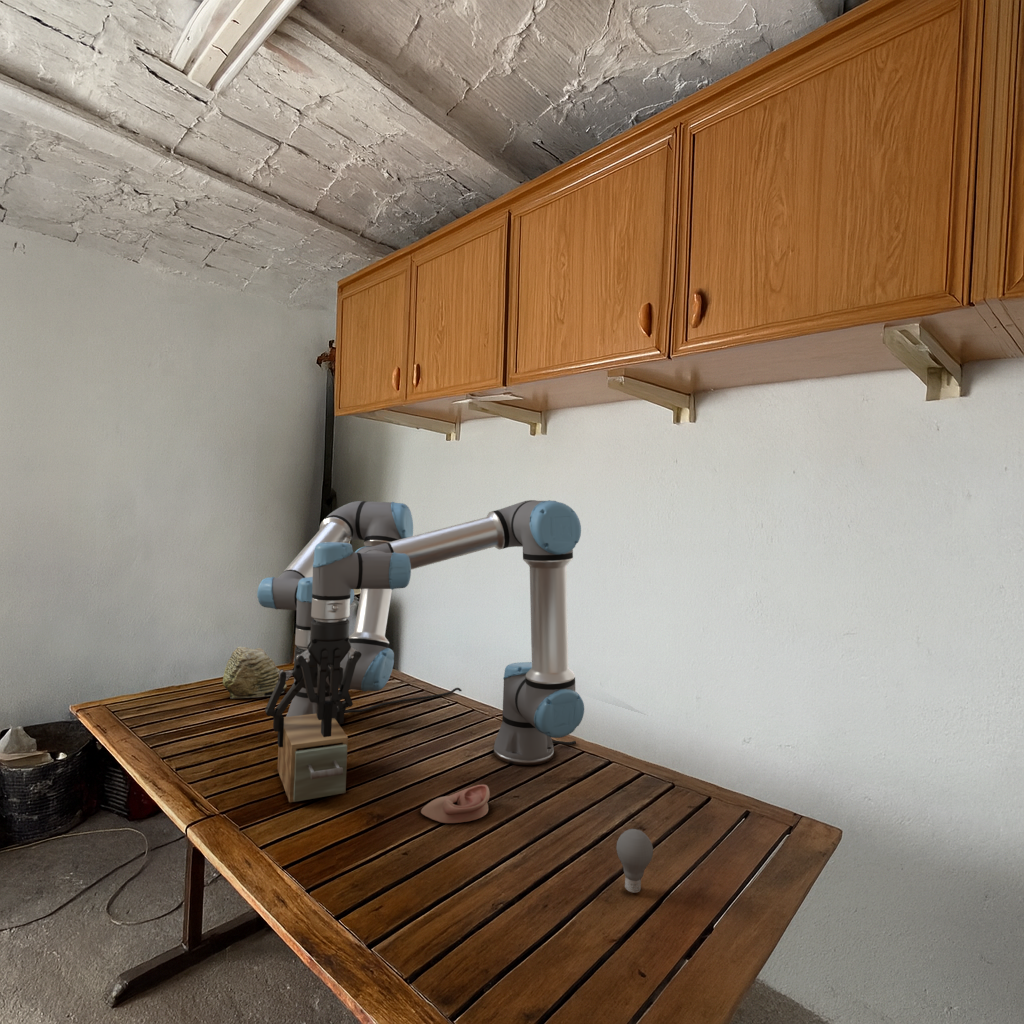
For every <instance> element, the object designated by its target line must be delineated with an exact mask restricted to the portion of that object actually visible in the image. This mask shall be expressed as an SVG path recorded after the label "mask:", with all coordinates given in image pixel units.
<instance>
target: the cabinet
mask: <svg viewBox="0 0 1024 1024" xmlns="http://www.w3.org/2000/svg"><path fill="white" fill-rule="evenodd" d="M316 715H317V714H308V715H300V716H291V717H286V716H283V717H284V729H283V747H279V746H277V747H278V748H277V772H278V775H279V778H280V780H281V784H282V786H283V789H284V791H285V792H284V793H285V795H286V796H287V800H288V803H290V804H291V803H295V802H294V773H295V751H296V750H297V749H300V748H307V747H314V746H321V745H329V744H336V743H340V745H343V744H346V745H347V746H348V745H349V737H348V735H347V734H346V732H345V731H344V729H343V728H342V727H341V724H340V725H339V724H338V722H337V721H336V719H335V718H332V728H331V736H329V737H323V735H322V734H321V720H318V718H317V716H316ZM347 769H348V764H347V765H346V771H348V770H347ZM346 792H347V789H346V790H345V793H344V794H346Z"/></svg>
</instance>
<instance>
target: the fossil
mask: <svg viewBox="0 0 1024 1024" xmlns="http://www.w3.org/2000/svg"><path fill="white" fill-rule="evenodd" d="M280 670H281V669H279V668H278V667H277V665H276V663H275V662H274V660H273V659H272V658H271V657H270V656H269V655H268V654H267V653H266V652H265V650H264V649H263V648H260V647H258V648H251V647H247V646H246V647H245V646H238V647H237V648H236V649H235V650H233V651H232V653H231V656H230V657H229V659H228V660H227V663H226V666H225V668H224V671H223V675H222V676H223V677H222V685H223V687H224V688H225V690H226V691H228V693H229V698H230V699H250V698H264V697H271V695H272V693H273V691H274V688H275V686H276V684H277V682H278V679H279V671H280ZM287 687H288V686H287V681H286V682H285V686H284V688H283V690H282V693H281V694H284V693H285V691H286V689H287Z"/></svg>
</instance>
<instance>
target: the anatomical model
mask: <svg viewBox="0 0 1024 1024" xmlns="http://www.w3.org/2000/svg"><path fill="white" fill-rule="evenodd" d="M490 795H491V792H490V788H489V786H488V785H487V784H477V785H473V786H470V787H468V788H464V789H462V790H460V791H457V792H455V793H452V794H450V795H445V796H440V797H437V798H435V799H433V800H431V801H430V802H428V803H426V804H425V805H424V806H423V807H422V808H421V809H420V813H421V814H422V815H423V816H425V817H426V818H428V819H430V820H433V821H435V822H439V823H441V824H458V823H459V824H460V823H467V822H471V821H476V820H478V819H482V818H483V817H485V816H486V815H487V814H488V813H489V804H488V802H489V800H490V797H491V796H490Z"/></svg>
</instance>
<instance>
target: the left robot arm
mask: <svg viewBox="0 0 1024 1024" xmlns="http://www.w3.org/2000/svg"><path fill="white" fill-rule="evenodd" d="M411 536H414V519H413V515H412V512H411V509H410V507H409V506H408V505H407V504H405V503H401V502H395V501H371V500H370V501H369V500H367V501H366V500H355V501H352V502H349V503H346V504H343V505H342V506H340V507H338V508H336V509H334V510H333V511H332V512H330V513H329V514H328V515H327V516H326V517H324V519H323V520H322V521H321V522H320V525H319V530H318V531H317V532H316V534H315V535H314V536H313V537H311V539H310V540H309V542H307V544H306V545H305V546H304V547H303V548H302V549H301V551H300V552H298V554H297V555H296V556H295V557H294V559H293V560H292V561H291V562H290V563H289V564H288V566H287V567H286V568H285V569H284V570H283V571H282V572H281V573H280V575H279V576H278V577H275V576H271V577H265V578H263V579H261V581H260V583H259V585H258V587H257V593H256V595H257V600H258V603H259V605H260V606H261V607H263V608H267V609H273V610H285V611H286V610H287V611H296V617H295V618H296V619H295V620H296V621H295V622H296V623H295V639H294V645H295V646H296V647H295V648H294V659H293V662H294V663H293V667H292V669H291V670H290V669H289V670H284V669H283V668H281V669H279V670H280V671H279V679H278V682H277V684H276V686H275V688H274V691H273V693H272V695H271V696H269V697H270V698H269V699H268V702H267V705H266V707H265V709H264V712H265V714H266V716H267V717H272V718H273V720H272V721H273V723H272V725H273V726H272V728H273V731H274V732H276V733H277V745H278V746H279V747H283V729H284V717H291V716H300V715H308V714H317V703H314V702H313V703H312V702H310V700H309V699H308V696H307V692H306V687H305V683H304V678H303V673H302V669H301V665H300V663H299V662H298V660H297V659H296V655H297V654H301V653H303V652H304V651H306V650H307V647H308V645H309V643H310V634H311V621H312V620H313V619H314V618H313V617H311V609H312V582H313V561H314V550H315V547H316V545H317V544H319V543H322V542H339V543H340V542H342V543H350V542H351V541H356V540H357V541H363V545H364V547H365V546H376V545H380V544H385V543H389V542H392V541H396V540H400V539H403V538H407V537H411ZM392 591H393V590H391V589H360V594H359V600H358V607H357V612H356V618H355V624H354V628H353V629H354V630H353V632H352V633H351V634H349V642H350V644H351V647H352V648H353V649H357V650H358V651H359V652H360V653H361V657H360V659H359V660H358V662H357V663H356V666H355V670H354V673H353V677H352V680H351V684H350V688H349V690H352V691H353V690H354V691H355V690H356V691H362V692H379V691H381V690H382V689H384V687H385V686H386V685H387V684H388V682H389V680H390V677H391V675H392V673H393V670H394V663H395V652H394V650H393V649H391V648H390V641H389V639H387V637H386V632H387V631H386V630H387V625H388V618H389V611H390V606H391V599H392V593H393V592H392ZM354 600H355V589H351V593H350V606H352V604H353V602H354ZM309 659H310V660H309V662H308V665H309V669H310V673H311V678H312V682H313V687H314V692H315V695H317V677H318V666H317V662H316V661H315V660H314V658H313V657H312V656H311V654H310V656H309ZM347 661H348V653H347V654H346V656H345V657H344V659H343V660H342V661H341V662H340V670H339V689H340V686H341V682H342V678H343V675H344V671H345V668H346V664H347ZM330 672H331V667H330V665H327V671H326V692H325V701H327V700H330ZM291 677H293V683H292V685H291V687H290V688H289V690H288V691H287V692H286V693H285V695H284V696H283V698H282V699H281V700H280V702H279V699H280V697H281V695H282V694H283V693H282V690H283V688H284V686H285V682H286V683H287V681H289V680H290V678H291ZM456 691H458V692H462V691H463V690H462V689H461V688H460V687H454V688H453V689H451V690H450V691H446V692H443V693H438V694H432V695H426V696H425V695H424V696H417V697H410V698H402V699H396V700H390V701H386V702H381V703H378V704H377V703H376V704H374V705H372V706H369V707H366V708H360V709H347V708H352V707H353V705H354V702H353V701H352V697H351V694H350V692H349V691H348V695H347V698H346V699H343V700H344V701H342V700H340V701H339V703H338V704H337V716H336V718H335V719H336V721H337V722H338V724H339V725H340V726H341V725H342V724H344V722H345V714H349V713H350V714H352V713H363V712H367V711H371V710H373V709H377V708H379V707H382V706H387V705H392V704H398V703H404V702H411V701H420V700H426V699H433V698H439V697H440V698H441V697H445V696H449V695H452V694H453V693H455V692H456ZM278 702H279V703H278ZM277 704H278V705H277ZM288 707H289V708H288ZM287 708H288V711H287V713H286V715H285V716H284V712H285V711H286V709H287ZM278 746H277V747H278Z"/></svg>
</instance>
